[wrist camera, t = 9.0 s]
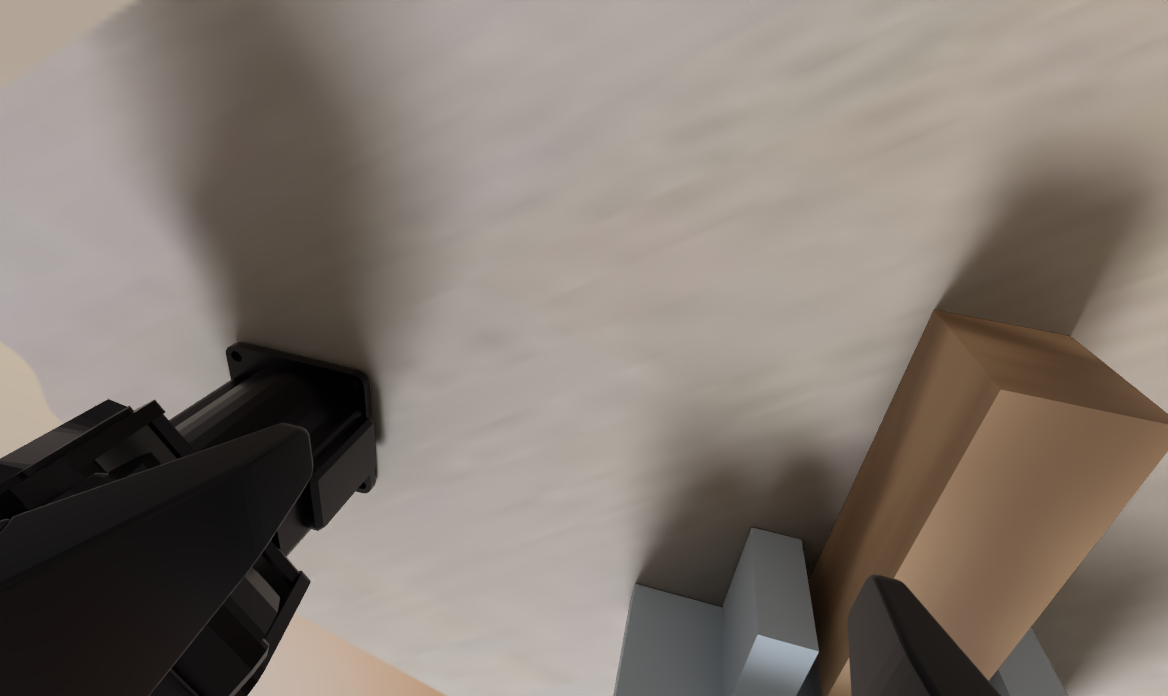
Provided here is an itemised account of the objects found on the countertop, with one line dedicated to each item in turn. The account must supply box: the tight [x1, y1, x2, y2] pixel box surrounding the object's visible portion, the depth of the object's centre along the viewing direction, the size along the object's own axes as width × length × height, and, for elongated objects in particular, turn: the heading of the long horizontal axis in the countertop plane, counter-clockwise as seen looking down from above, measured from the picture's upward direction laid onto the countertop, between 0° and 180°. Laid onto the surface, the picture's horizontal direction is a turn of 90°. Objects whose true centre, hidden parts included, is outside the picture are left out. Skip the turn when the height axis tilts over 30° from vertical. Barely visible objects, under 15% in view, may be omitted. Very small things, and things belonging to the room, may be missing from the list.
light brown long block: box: [808, 310, 1168, 696], centre depth 19 cm, size 4×14×5 cm, turn 173°
